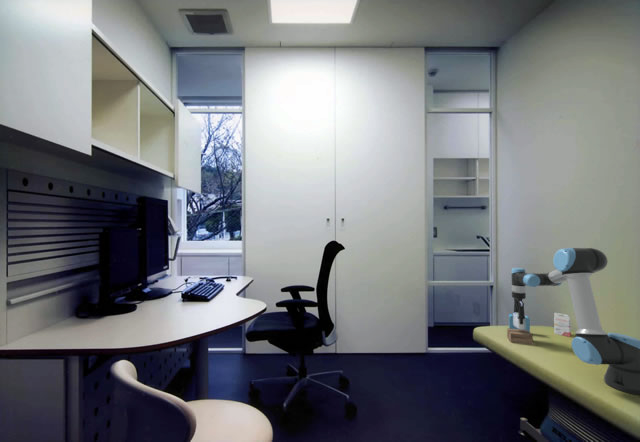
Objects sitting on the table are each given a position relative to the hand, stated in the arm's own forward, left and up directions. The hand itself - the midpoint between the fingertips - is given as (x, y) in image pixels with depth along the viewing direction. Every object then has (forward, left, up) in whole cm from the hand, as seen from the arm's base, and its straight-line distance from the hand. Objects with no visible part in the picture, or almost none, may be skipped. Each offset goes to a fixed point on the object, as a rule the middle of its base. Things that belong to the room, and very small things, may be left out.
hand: (519, 326), depth 199 cm
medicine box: (0, 0, -1) cm, 1 cm away
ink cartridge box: (+24, -31, -9) cm, 40 cm away
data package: (+18, -4, -9) cm, 21 cm away
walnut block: (0, 0, -9) cm, 9 cm away
